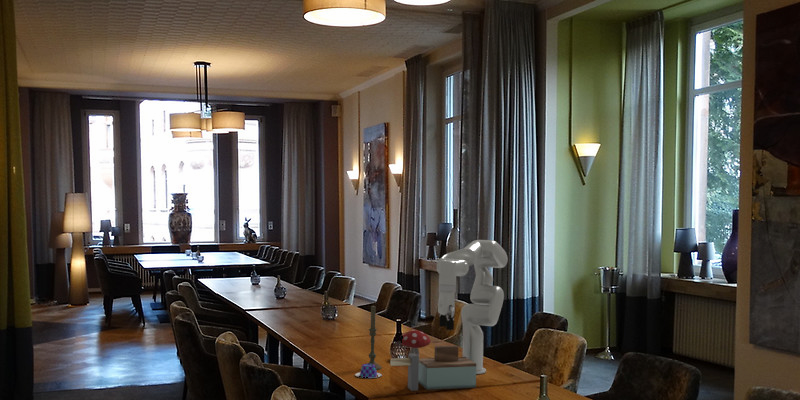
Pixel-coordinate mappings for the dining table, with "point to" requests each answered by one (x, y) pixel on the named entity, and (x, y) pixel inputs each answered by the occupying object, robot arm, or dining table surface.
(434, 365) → the toolbox lid
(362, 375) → the pudding
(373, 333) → the candlestick holder
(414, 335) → the decorative mushroom
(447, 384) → the toolbox
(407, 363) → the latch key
